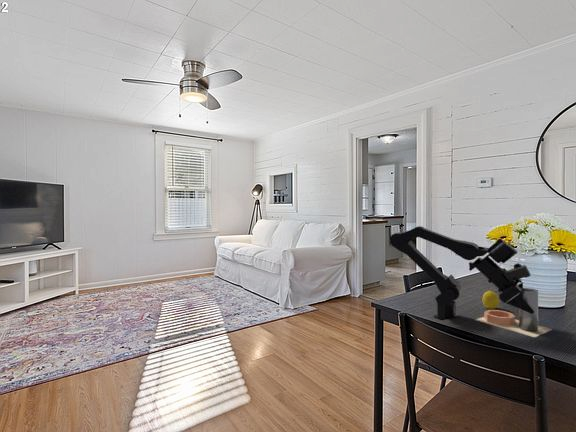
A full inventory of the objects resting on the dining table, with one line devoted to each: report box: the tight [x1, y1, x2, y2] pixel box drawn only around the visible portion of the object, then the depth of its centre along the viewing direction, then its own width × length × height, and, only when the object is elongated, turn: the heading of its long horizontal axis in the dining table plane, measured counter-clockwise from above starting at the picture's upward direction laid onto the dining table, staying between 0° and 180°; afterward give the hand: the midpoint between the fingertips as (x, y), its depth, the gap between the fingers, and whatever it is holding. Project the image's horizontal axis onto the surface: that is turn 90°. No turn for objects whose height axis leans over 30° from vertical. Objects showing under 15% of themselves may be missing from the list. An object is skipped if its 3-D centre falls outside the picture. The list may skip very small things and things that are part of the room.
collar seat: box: [483, 309, 516, 326], centre depth 114 cm, size 9×9×2 cm
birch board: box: [475, 316, 553, 338], centre depth 110 cm, size 12×18×1 cm, turn 29°
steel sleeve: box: [518, 287, 539, 332], centre depth 106 cm, size 5×5×13 cm
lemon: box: [481, 290, 500, 310], centre depth 128 cm, size 6×6×8 cm
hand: (533, 309), depth 105 cm, fingers open, 9 cm apart
